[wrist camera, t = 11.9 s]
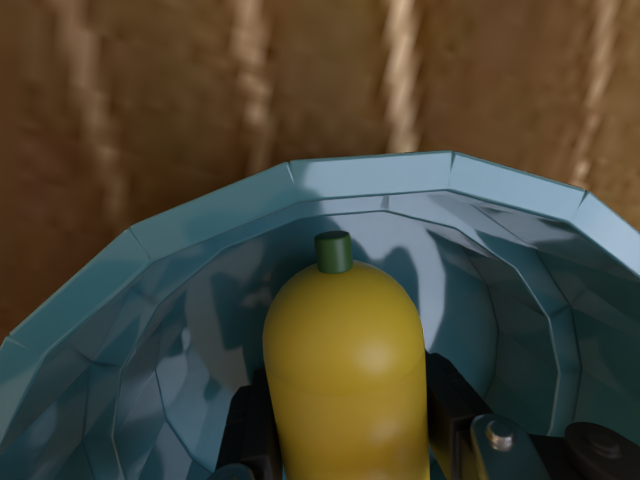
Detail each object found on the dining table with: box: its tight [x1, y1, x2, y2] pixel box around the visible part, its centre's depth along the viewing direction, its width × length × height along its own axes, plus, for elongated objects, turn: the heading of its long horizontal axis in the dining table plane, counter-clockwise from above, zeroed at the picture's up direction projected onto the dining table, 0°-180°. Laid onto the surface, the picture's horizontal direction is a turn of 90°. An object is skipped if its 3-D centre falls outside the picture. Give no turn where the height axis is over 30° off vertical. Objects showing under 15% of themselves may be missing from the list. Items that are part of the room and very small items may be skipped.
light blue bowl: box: [0, 150, 640, 480], centre depth 9 cm, size 15×15×6 cm
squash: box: [262, 231, 430, 480], centre depth 9 cm, size 11×4×4 cm, turn 7°
